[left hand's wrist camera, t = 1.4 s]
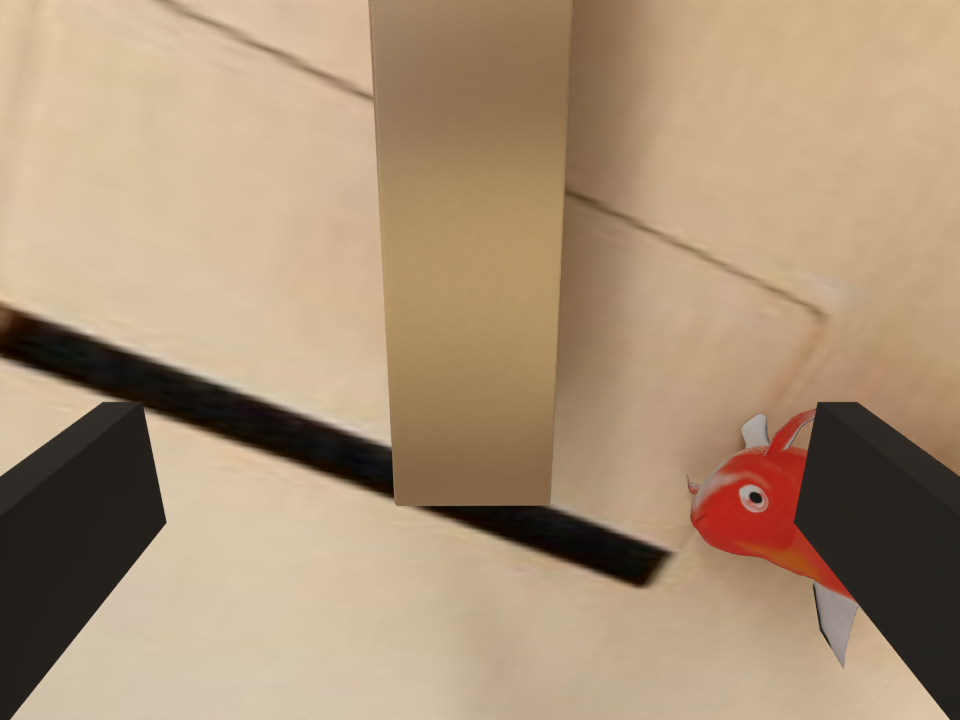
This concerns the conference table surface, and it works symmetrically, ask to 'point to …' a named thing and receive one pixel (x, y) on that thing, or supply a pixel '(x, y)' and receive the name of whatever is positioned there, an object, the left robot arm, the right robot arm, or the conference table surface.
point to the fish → (771, 518)
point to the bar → (471, 241)
